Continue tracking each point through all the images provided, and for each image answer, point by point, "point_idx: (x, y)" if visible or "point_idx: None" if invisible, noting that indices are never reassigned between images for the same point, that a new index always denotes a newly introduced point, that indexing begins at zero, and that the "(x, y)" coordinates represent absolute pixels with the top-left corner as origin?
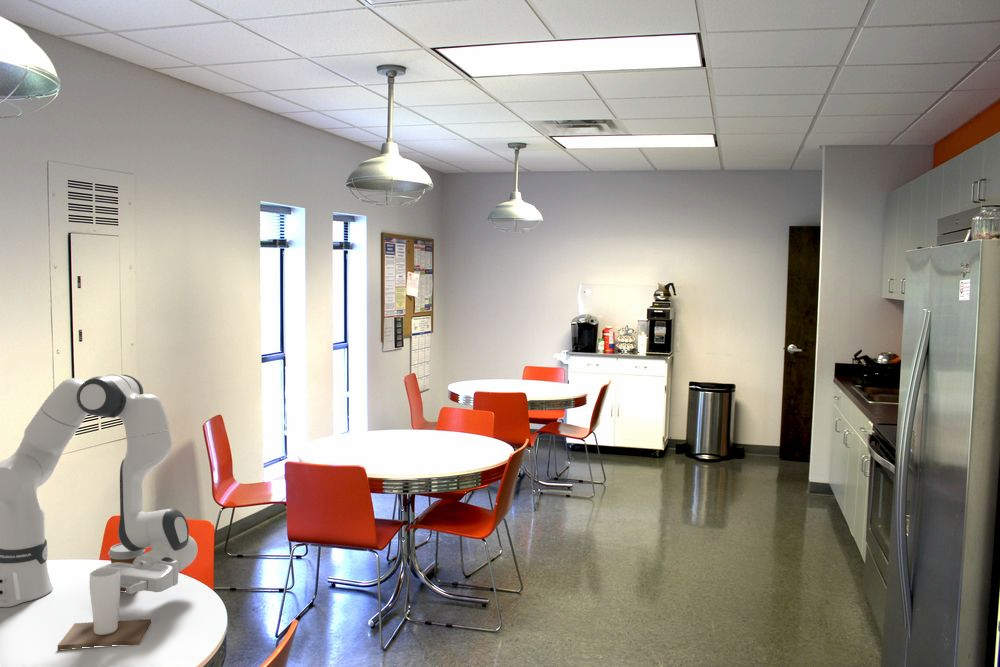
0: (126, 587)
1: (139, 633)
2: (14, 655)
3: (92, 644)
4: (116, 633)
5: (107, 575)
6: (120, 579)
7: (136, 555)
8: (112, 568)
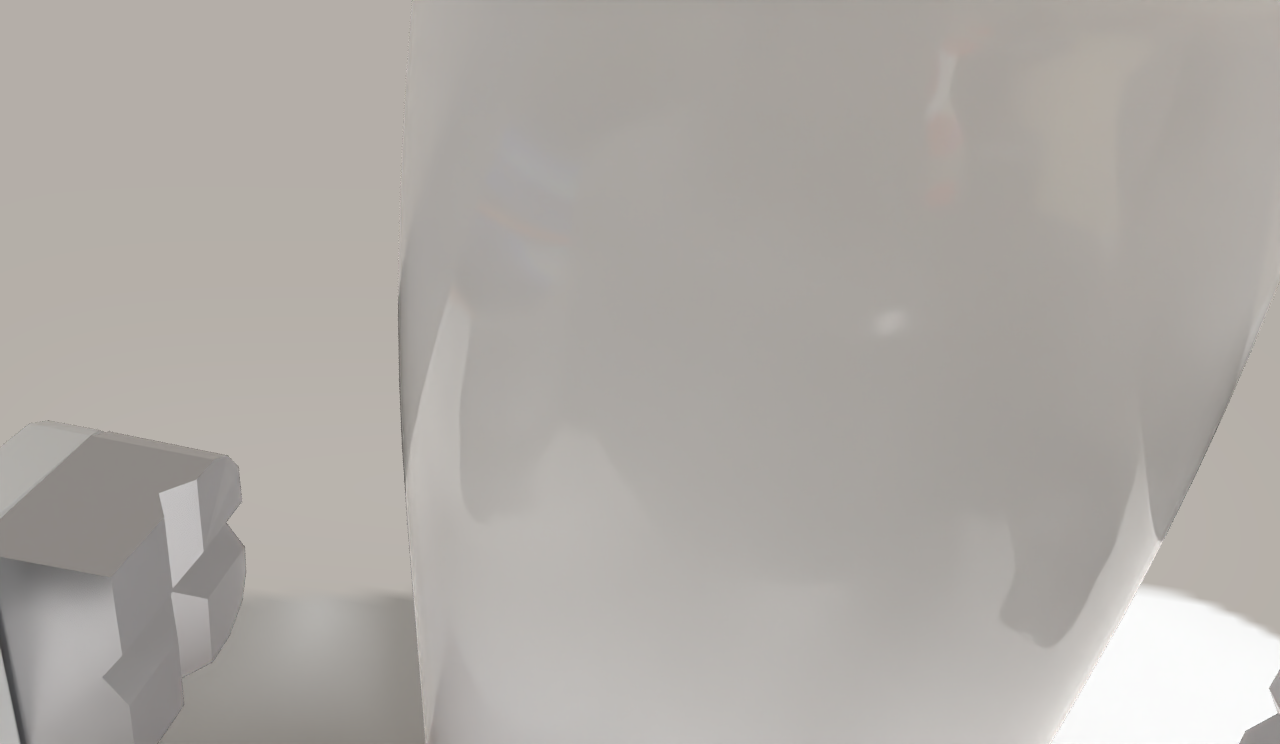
0: (212, 455)
1: None
2: (1204, 622)
3: None
4: None
5: (1100, 357)
6: (429, 250)
7: None
8: (989, 31)
